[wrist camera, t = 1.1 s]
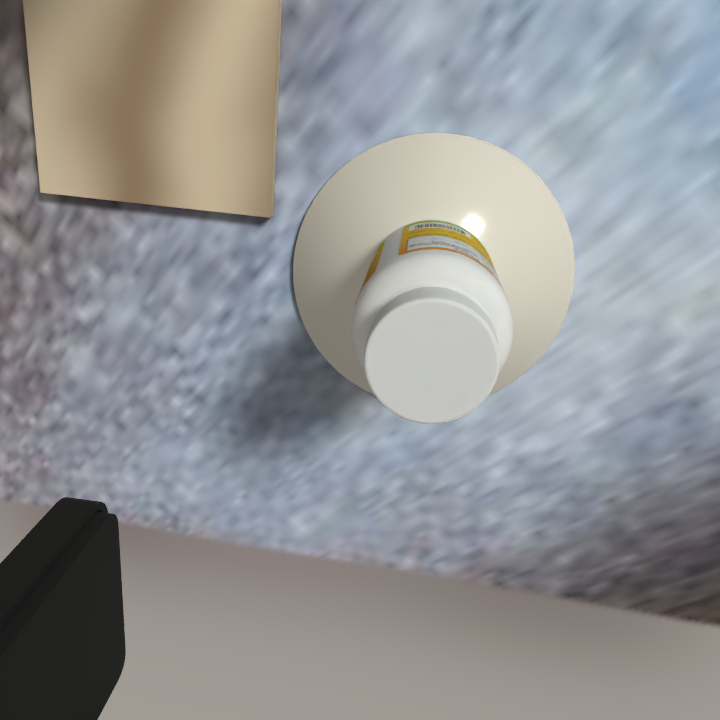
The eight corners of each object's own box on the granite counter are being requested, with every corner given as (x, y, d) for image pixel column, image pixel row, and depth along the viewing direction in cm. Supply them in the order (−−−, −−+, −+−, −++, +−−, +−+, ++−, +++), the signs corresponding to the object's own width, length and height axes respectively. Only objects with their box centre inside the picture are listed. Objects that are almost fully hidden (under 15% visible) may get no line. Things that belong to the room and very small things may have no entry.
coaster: (603, 148, 26) (604, 149, 25) (543, 420, 30) (544, 422, 30) (301, 118, 26) (300, 118, 26) (287, 388, 31) (286, 390, 30)
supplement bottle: (412, 361, 29) (404, 475, 20) (343, 263, 28) (302, 339, 19) (518, 298, 28) (560, 391, 19) (450, 191, 26) (462, 236, 17)
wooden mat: (284, -57, 24) (280, -61, 23) (273, 215, 28) (270, 217, 27) (24, -79, 25) (15, -83, 24) (48, 190, 28) (40, 192, 28)
